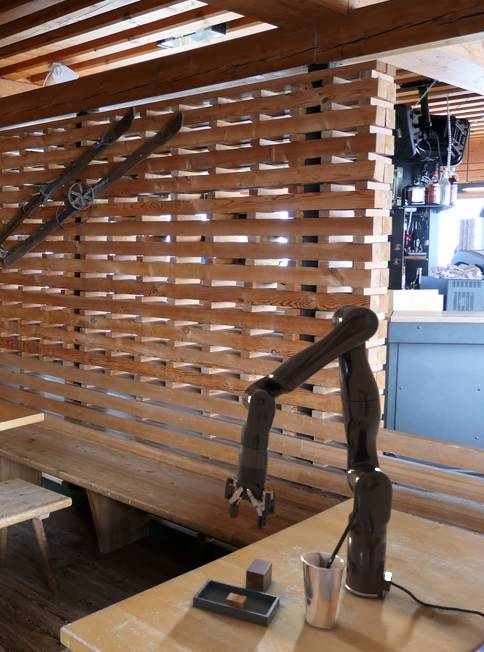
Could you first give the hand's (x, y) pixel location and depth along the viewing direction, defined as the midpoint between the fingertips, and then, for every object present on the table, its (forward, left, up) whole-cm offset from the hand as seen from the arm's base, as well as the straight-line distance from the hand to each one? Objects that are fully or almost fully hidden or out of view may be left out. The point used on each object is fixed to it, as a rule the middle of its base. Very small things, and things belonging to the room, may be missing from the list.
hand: (246, 523), depth 194 cm
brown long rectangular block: (-3, -2, -17) cm, 18 cm away
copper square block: (-1, +12, -17) cm, 21 cm away
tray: (-1, +12, -17) cm, 21 cm away
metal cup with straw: (-21, +9, -18) cm, 29 cm away
